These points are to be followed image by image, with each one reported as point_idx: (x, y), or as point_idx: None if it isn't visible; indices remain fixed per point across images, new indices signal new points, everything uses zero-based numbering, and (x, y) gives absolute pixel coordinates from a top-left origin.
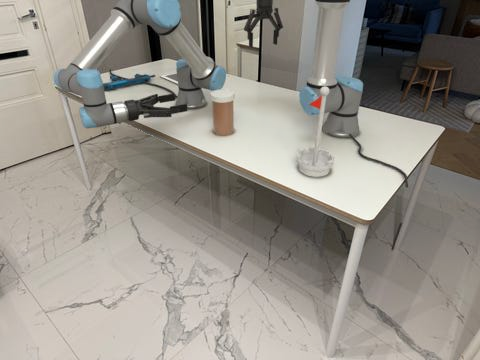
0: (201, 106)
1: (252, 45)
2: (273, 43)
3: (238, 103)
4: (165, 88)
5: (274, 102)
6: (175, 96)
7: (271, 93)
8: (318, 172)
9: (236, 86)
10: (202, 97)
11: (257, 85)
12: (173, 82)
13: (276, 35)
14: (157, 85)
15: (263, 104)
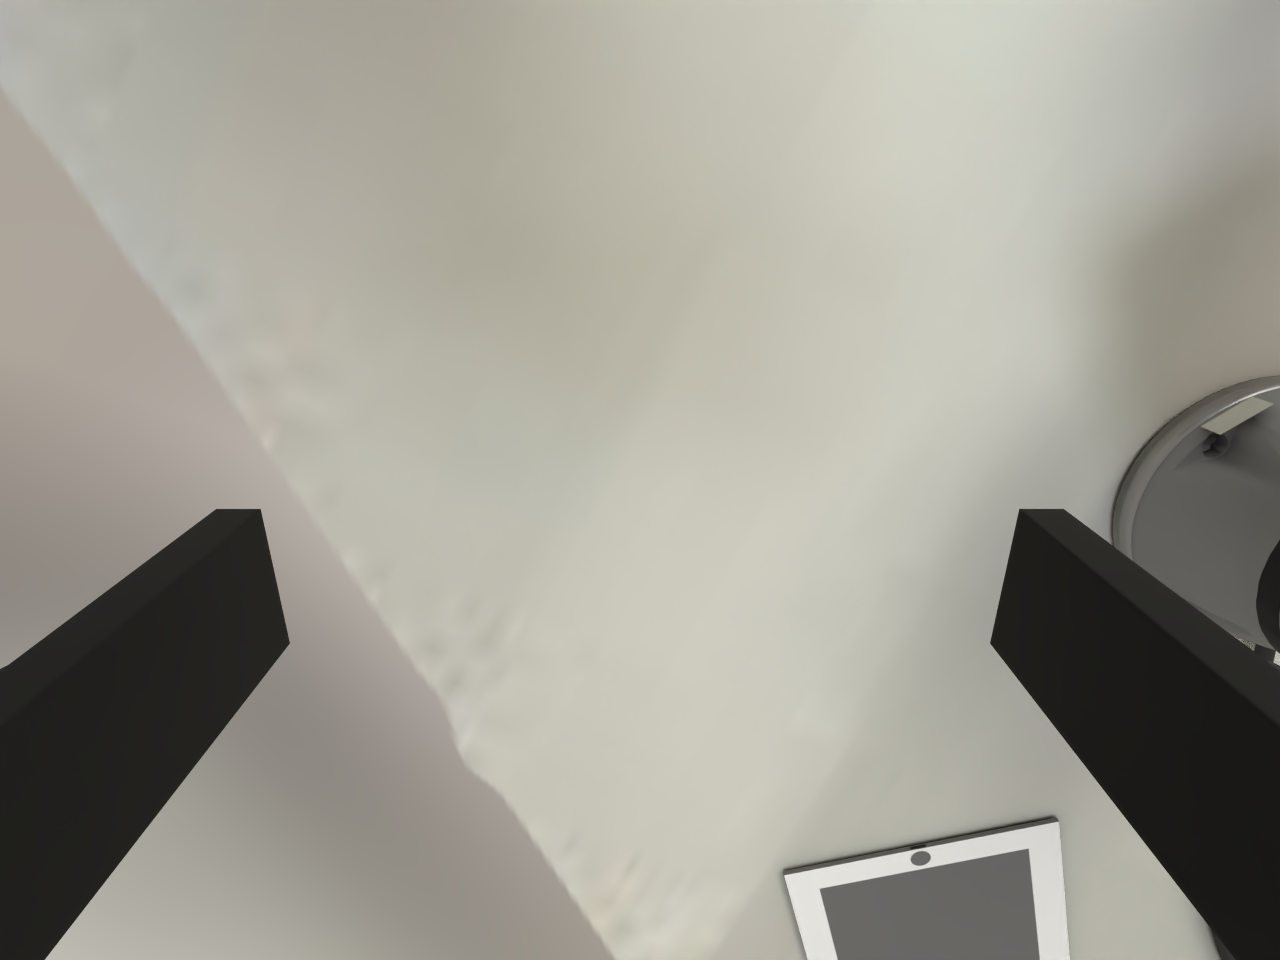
0: (1231, 389)
1: (1056, 527)
2: (281, 631)
3: (880, 335)
4: None
5: (546, 200)
6: None
7: (459, 445)
8: None
9: (671, 721)
10: (1223, 467)
11: (488, 676)
12: (1067, 955)
13: (65, 662)
14: None
15: (677, 198)
